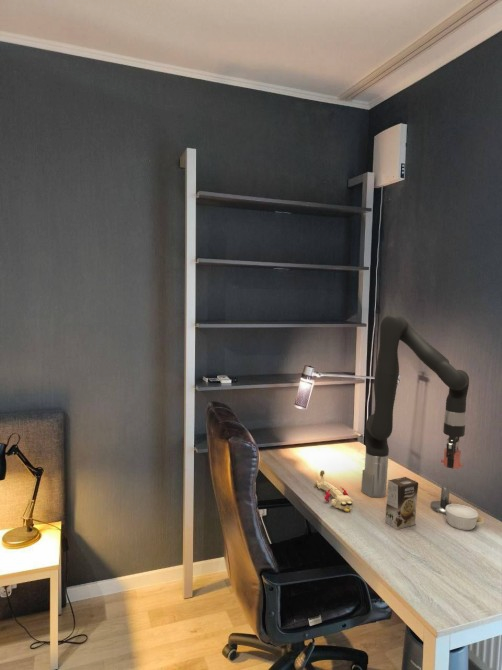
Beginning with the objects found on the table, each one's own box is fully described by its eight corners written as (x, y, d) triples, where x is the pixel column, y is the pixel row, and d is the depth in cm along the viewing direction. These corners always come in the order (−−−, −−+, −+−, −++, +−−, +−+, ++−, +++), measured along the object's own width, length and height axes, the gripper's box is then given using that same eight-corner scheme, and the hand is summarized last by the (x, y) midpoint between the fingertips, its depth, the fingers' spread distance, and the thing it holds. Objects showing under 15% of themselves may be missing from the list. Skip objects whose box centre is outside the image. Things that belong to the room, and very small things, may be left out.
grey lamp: (445, 516, 176) (447, 494, 175) (424, 505, 185) (426, 483, 184) (463, 512, 181) (465, 489, 180) (442, 501, 189) (444, 480, 189)
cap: (439, 466, 179) (440, 450, 178) (442, 461, 183) (443, 446, 183) (460, 470, 174) (462, 454, 174) (463, 465, 179) (464, 450, 179)
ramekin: (460, 514, 178) (461, 501, 178) (484, 529, 168) (485, 515, 168) (437, 519, 174) (438, 505, 174) (460, 534, 164) (462, 519, 163)
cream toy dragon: (309, 490, 198) (336, 513, 175) (310, 470, 198) (337, 490, 174) (330, 488, 201) (360, 510, 177) (331, 468, 201) (360, 488, 177)
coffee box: (397, 530, 165) (400, 486, 163) (384, 522, 170) (387, 479, 169) (416, 525, 169) (419, 482, 167) (402, 517, 175) (405, 475, 173)
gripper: (447, 416, 185) (444, 457, 187) (440, 424, 173) (437, 468, 175) (468, 419, 181) (464, 461, 183) (462, 428, 169) (459, 473, 171)
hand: (451, 465), depth 179 cm, fingers closed on cap, 5 cm apart
